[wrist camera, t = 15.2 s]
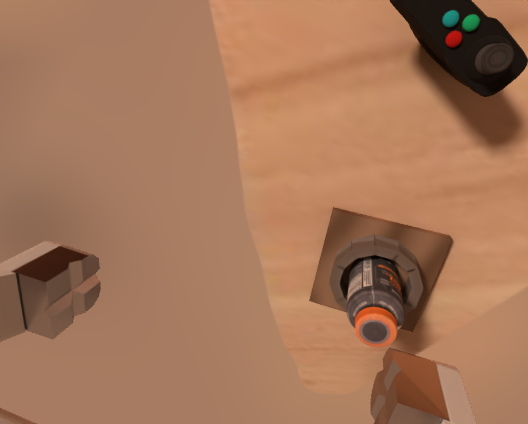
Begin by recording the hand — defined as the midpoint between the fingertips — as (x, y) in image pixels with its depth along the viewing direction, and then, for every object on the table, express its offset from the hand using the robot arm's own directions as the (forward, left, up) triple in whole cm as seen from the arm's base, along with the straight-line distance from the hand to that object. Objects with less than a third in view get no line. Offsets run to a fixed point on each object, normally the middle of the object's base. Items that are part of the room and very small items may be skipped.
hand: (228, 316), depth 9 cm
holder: (-9, +16, -34) cm, 39 cm away
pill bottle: (-9, +16, -33) cm, 38 cm away
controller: (-8, -11, -34) cm, 37 cm away
